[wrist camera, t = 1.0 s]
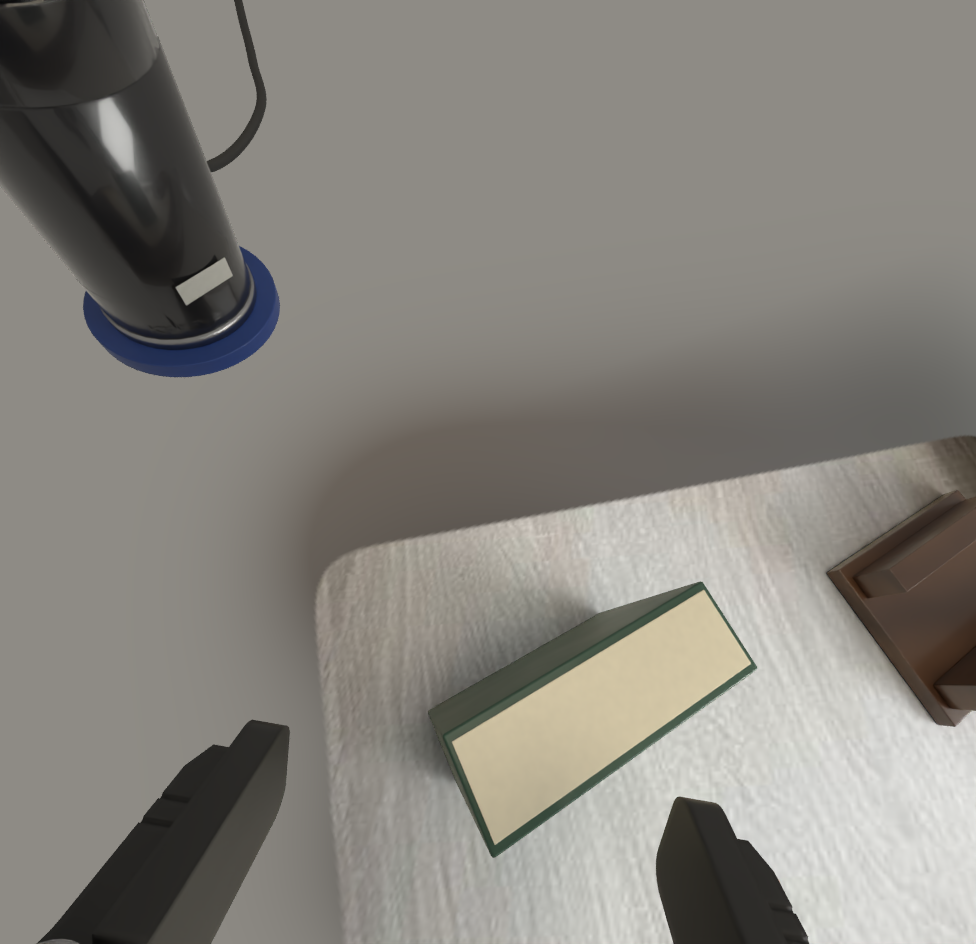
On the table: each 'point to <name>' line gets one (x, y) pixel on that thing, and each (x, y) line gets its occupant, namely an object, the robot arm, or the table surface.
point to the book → (584, 707)
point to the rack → (923, 602)
